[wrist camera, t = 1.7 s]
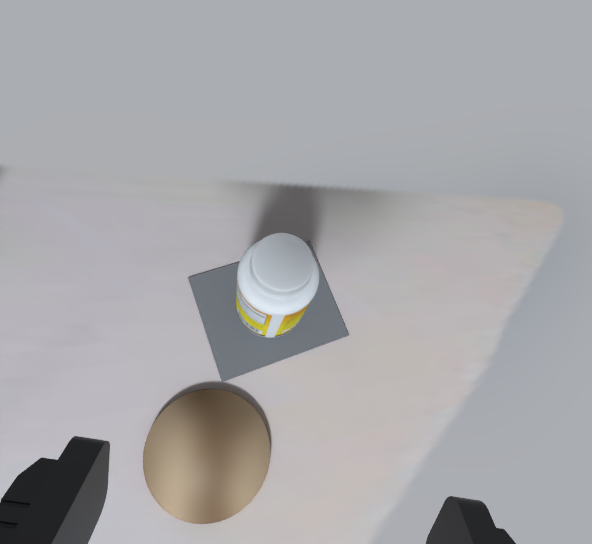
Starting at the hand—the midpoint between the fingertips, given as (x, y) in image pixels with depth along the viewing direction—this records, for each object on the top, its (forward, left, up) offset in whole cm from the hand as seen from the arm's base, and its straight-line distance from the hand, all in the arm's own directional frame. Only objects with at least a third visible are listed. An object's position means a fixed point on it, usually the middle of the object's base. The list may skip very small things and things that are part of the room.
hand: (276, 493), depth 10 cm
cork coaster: (-2, +1, -24) cm, 24 cm away
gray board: (+6, +10, -24) cm, 27 cm away
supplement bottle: (+6, +10, -24) cm, 27 cm away
